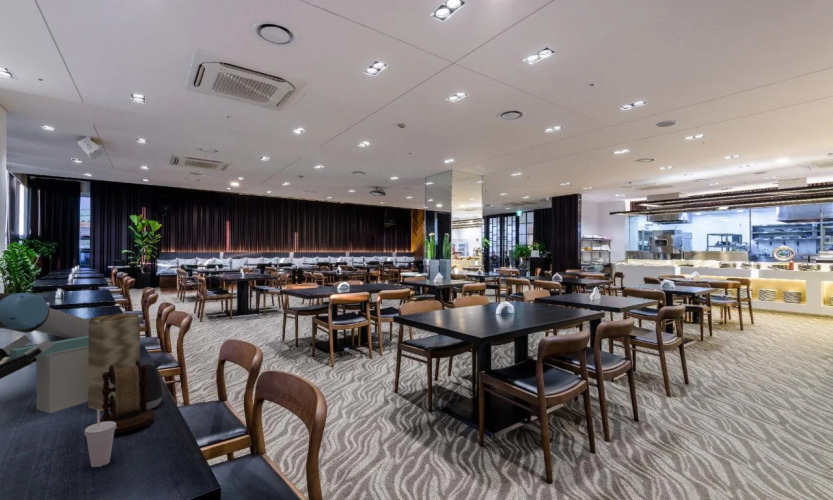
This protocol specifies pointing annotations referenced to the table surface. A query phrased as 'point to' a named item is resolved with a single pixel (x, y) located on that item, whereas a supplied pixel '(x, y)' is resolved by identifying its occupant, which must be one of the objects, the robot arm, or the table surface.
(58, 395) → the block
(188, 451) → the table surface
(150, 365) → the pump dispenser
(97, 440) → the smoothie
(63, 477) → the table surface
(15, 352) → the teal block
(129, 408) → the scroll
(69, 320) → the robot arm
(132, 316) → the brown tall block
